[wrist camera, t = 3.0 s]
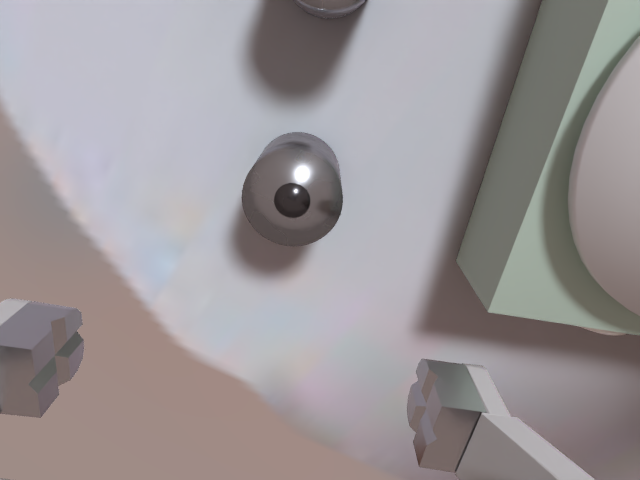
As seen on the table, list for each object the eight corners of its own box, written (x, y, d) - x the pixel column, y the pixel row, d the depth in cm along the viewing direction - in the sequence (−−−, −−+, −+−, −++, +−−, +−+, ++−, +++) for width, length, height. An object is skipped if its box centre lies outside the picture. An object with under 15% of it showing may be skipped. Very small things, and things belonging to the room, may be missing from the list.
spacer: (346, 139, 25) (351, 159, 20) (331, 218, 27) (333, 253, 22) (261, 125, 24) (246, 142, 20) (253, 206, 26) (237, 238, 22)
